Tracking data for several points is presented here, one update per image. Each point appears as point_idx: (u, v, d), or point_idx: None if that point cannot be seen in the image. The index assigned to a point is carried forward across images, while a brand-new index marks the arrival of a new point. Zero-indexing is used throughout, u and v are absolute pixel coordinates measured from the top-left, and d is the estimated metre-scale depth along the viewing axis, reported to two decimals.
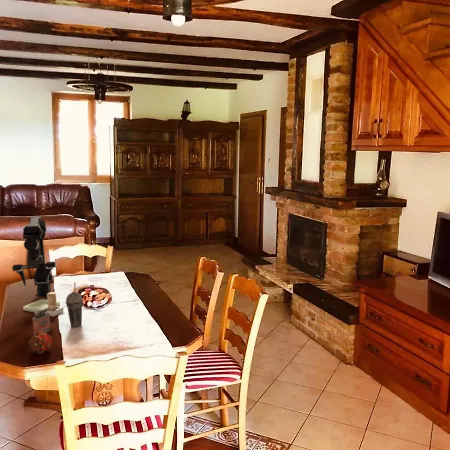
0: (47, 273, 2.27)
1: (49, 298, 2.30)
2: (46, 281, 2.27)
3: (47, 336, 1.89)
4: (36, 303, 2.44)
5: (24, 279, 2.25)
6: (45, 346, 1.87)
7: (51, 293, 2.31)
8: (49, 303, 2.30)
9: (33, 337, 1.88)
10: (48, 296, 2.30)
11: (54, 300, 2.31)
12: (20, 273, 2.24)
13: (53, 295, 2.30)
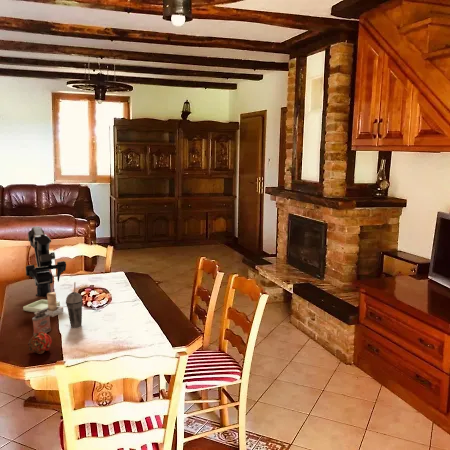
0: (59, 271, 2.41)
1: (49, 298, 2.30)
2: (58, 278, 2.40)
3: (47, 336, 1.89)
4: (36, 303, 2.44)
5: (37, 277, 2.36)
6: (45, 346, 1.87)
7: (51, 293, 2.31)
8: (49, 303, 2.30)
9: (33, 337, 1.88)
10: (48, 296, 2.30)
11: (54, 300, 2.31)
12: (33, 272, 2.36)
13: (53, 295, 2.30)
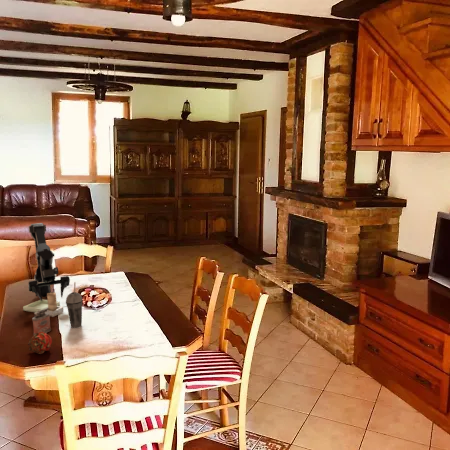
0: (62, 286, 2.35)
1: (49, 298, 2.30)
2: (62, 294, 2.33)
3: (47, 336, 1.89)
4: (36, 303, 2.44)
5: (40, 293, 2.30)
6: (45, 346, 1.87)
7: (51, 293, 2.31)
8: (49, 303, 2.30)
9: (33, 337, 1.88)
10: (48, 296, 2.30)
11: (54, 300, 2.31)
12: (36, 287, 2.30)
13: (53, 295, 2.30)
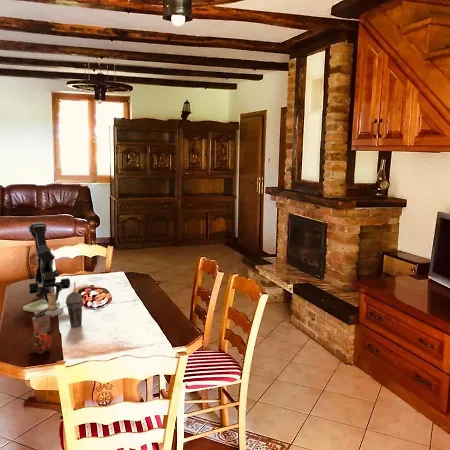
0: (57, 290, 2.33)
1: (49, 298, 2.30)
2: (57, 297, 2.32)
3: (47, 336, 1.89)
4: (36, 303, 2.44)
5: (46, 295, 2.30)
6: (45, 346, 1.87)
7: (51, 293, 2.31)
8: (49, 303, 2.30)
9: (33, 337, 1.88)
10: (48, 296, 2.30)
11: (54, 300, 2.31)
12: (42, 289, 2.30)
13: (53, 295, 2.30)
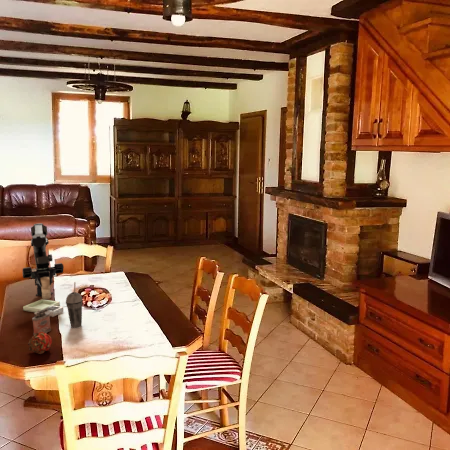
0: (51, 274, 2.36)
1: (43, 282, 2.33)
2: (50, 282, 2.35)
3: (47, 336, 1.89)
4: (36, 303, 2.44)
5: (40, 279, 2.33)
6: (45, 346, 1.87)
7: (44, 277, 2.34)
8: (43, 287, 2.33)
9: (33, 337, 1.88)
10: (42, 280, 2.33)
11: (48, 284, 2.34)
12: (36, 273, 2.33)
13: (47, 279, 2.33)
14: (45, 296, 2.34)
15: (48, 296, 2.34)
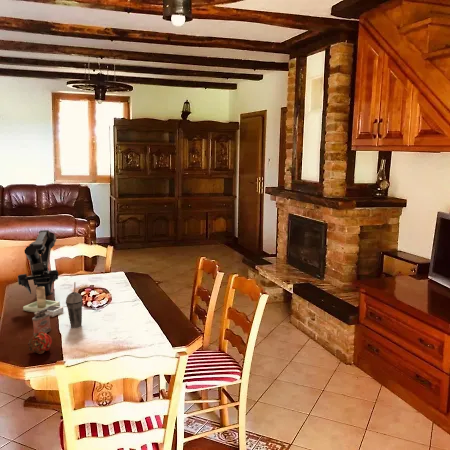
0: (51, 280, 2.42)
1: (38, 292, 2.38)
2: (50, 287, 2.40)
3: (47, 336, 1.89)
4: (36, 303, 2.44)
5: (29, 287, 2.37)
6: (45, 346, 1.87)
7: (40, 287, 2.40)
8: (38, 297, 2.38)
9: (33, 337, 1.88)
10: (37, 290, 2.38)
11: (43, 294, 2.39)
12: (25, 281, 2.37)
13: (42, 289, 2.38)
14: (41, 305, 2.39)
15: (43, 305, 2.39)
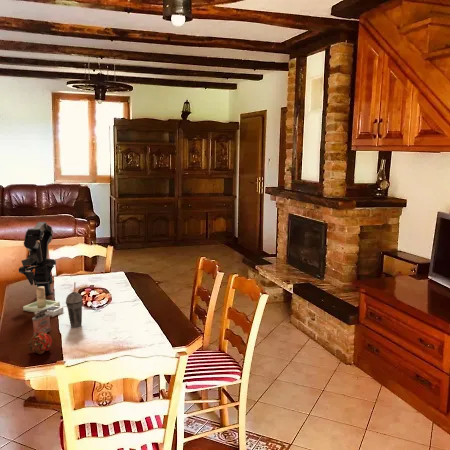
0: (45, 270, 2.39)
1: (38, 292, 2.38)
2: (46, 278, 2.39)
3: (47, 336, 1.89)
4: (36, 303, 2.44)
5: (29, 279, 2.42)
6: (45, 346, 1.87)
7: (40, 287, 2.39)
8: (38, 297, 2.38)
9: (33, 337, 1.88)
10: (37, 290, 2.38)
11: (43, 294, 2.39)
12: (25, 274, 2.42)
13: (42, 289, 2.38)
14: (41, 305, 2.39)
15: (43, 305, 2.39)
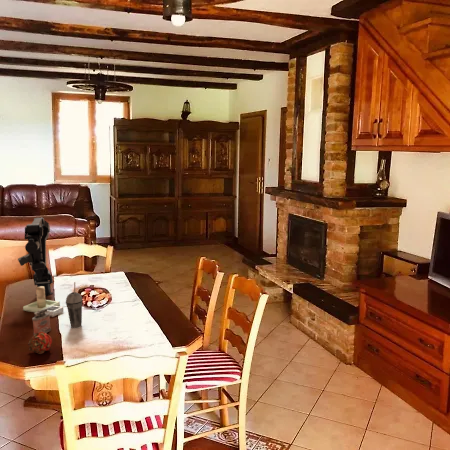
0: (35, 272, 2.39)
1: (38, 292, 2.38)
2: (37, 279, 2.41)
3: (47, 336, 1.89)
4: (36, 303, 2.44)
5: None
6: (45, 346, 1.87)
7: (40, 287, 2.39)
8: (38, 297, 2.38)
9: (33, 337, 1.88)
10: (37, 290, 2.38)
11: (43, 294, 2.39)
12: None
13: (42, 289, 2.38)
14: (41, 305, 2.39)
15: (43, 305, 2.39)
